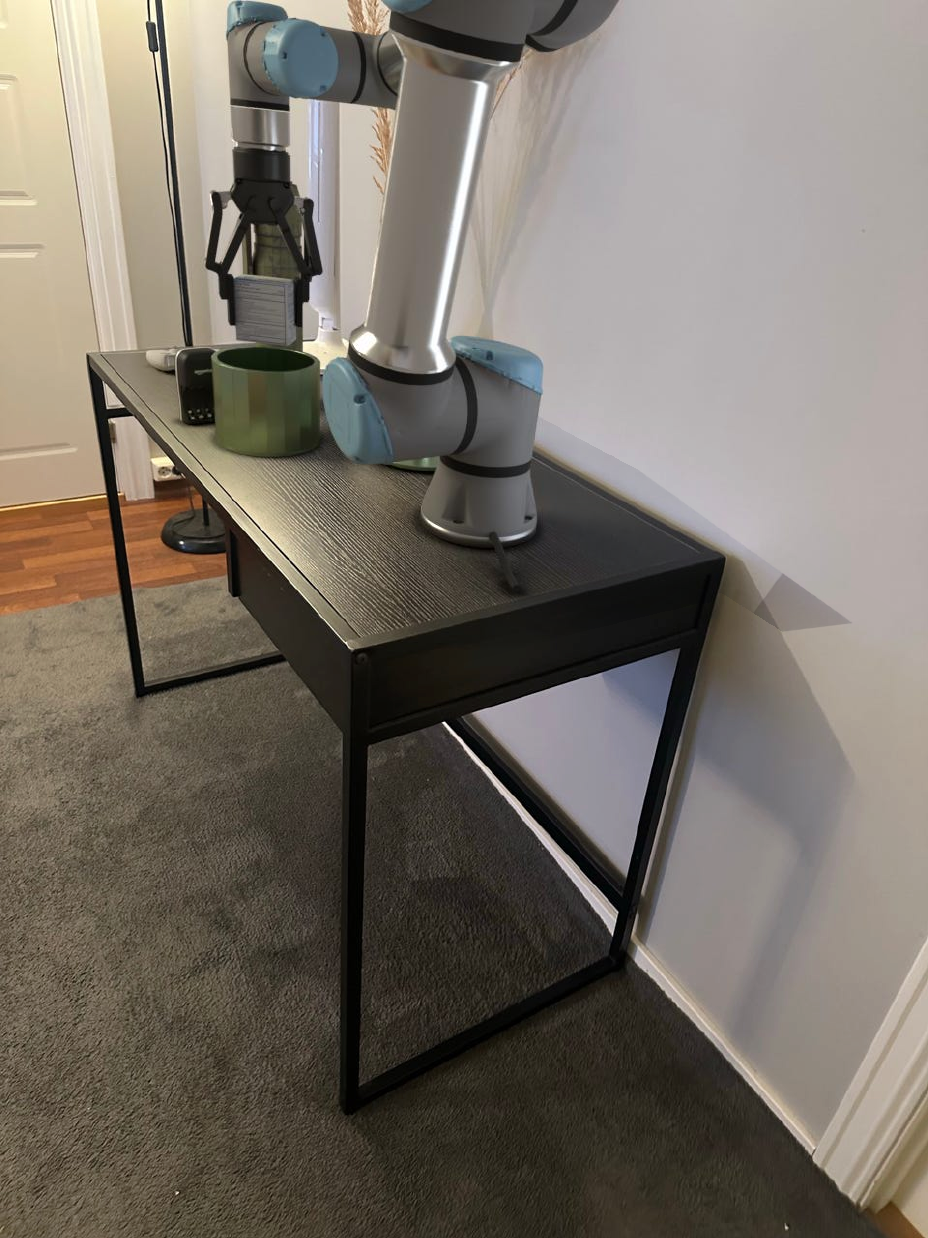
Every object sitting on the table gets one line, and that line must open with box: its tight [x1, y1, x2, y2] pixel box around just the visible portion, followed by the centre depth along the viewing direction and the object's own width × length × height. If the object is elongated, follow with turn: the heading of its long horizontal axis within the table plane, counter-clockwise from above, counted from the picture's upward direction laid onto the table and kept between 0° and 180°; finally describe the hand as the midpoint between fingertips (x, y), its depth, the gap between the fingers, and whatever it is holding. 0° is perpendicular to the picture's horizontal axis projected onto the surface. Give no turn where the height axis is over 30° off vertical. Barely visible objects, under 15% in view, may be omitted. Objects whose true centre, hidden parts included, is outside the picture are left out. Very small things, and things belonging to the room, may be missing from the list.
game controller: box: [145, 345, 221, 372], centre depth 159 cm, size 14×4×10 cm
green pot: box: [211, 345, 321, 458], centre depth 127 cm, size 16×16×12 cm
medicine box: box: [234, 273, 296, 346], centre depth 120 cm, size 8×4×9 cm, turn 84°
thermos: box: [241, 180, 313, 352], centre depth 139 cm, size 9×12×35 cm
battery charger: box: [174, 346, 216, 425], centre depth 131 cm, size 7×4×11 cm, turn 131°
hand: (265, 324), depth 121 cm, fingers closed on medicine box, 9 cm apart
